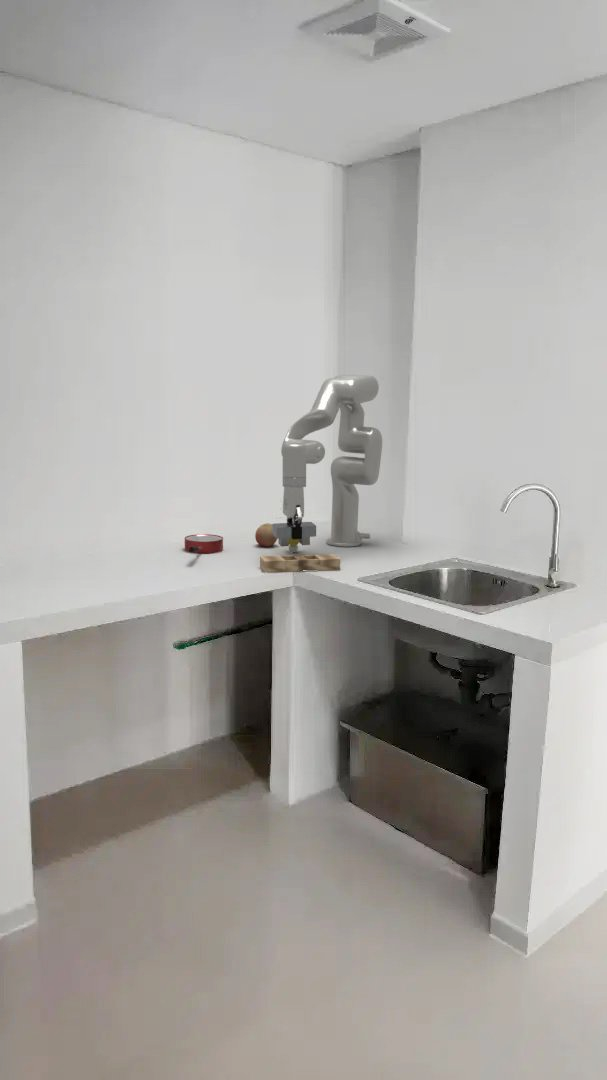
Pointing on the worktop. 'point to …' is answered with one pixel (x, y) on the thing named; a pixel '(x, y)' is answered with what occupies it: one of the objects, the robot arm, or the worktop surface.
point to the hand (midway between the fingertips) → (294, 536)
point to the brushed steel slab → (285, 532)
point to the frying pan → (203, 543)
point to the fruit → (265, 535)
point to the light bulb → (293, 544)
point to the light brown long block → (299, 563)
